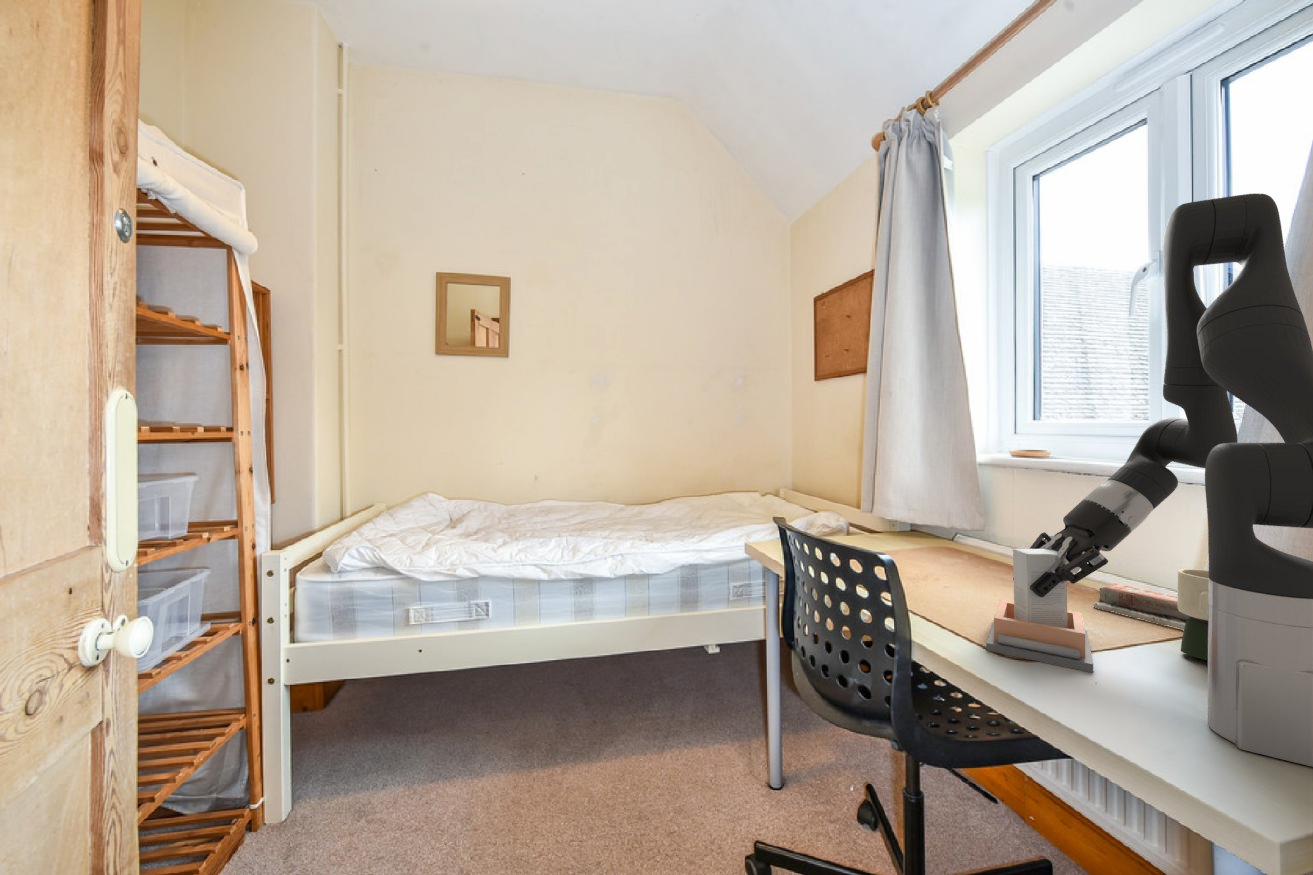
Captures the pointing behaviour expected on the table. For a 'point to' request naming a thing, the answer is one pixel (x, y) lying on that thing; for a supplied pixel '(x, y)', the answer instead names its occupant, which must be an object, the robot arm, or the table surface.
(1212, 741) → the table surface
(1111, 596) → the packaged product
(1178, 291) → the robot arm
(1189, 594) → the character mug
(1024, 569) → the skincare box
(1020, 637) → the open rectangular holder tray
